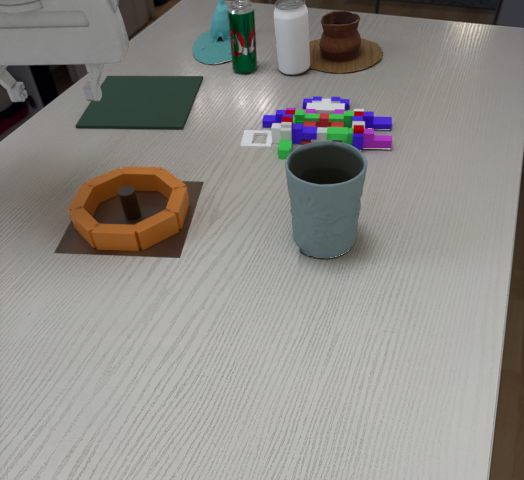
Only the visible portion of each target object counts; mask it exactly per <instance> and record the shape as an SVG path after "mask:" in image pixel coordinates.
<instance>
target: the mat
mask: <svg viewBox="0 0 524 480" xmlns="http://www.w3.org/2000/svg"><path fill="white" fill-rule="evenodd" d="M203 80H204V76H203V75H107V76H106V77H105V79H104V80H103V81H102V83H101V84H100V88H101V91H102V97H101V99H100V101H89V104H88V105H87V107H86V108H85V110H84V111H83V113H82V114H81V115H80V117H79V119H78V121H77V122H76V123H75V125H74V127H75V128H76V129H116V130H117V129H118V130H120V129H123V130H124V129H125V130H132V129H133V130H184V128H185V125H186V122H187V120H188V118H189V115H190V113H191V111H192V107H193V106H194V102H195V100H196V98H197V95H198V93H199V90H200V87H201V85H202V83H203Z"/></svg>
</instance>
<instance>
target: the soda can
mask: <svg viewBox="0 0 524 480" xmlns="http://www.w3.org/2000/svg"><path fill="white" fill-rule="evenodd" d="M228 7H229V8H228V21H229V33H230V44H231V56H232V61H231V65H232V70H233V71H234V72H235V73H236V74H240V75H246V74H247V75H248V74H251V73H253V72H255V71H256V69H257V68H258V53H257V36H256V17H255V7H254V6H253V2H252V1H251V0H232V1H229V3H228Z"/></svg>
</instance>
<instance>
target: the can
mask: <svg viewBox="0 0 524 480" xmlns="http://www.w3.org/2000/svg"><path fill="white" fill-rule="evenodd" d="M273 26H274V35H275V36H274V37H275V47H276V57H277V59H276V60H277V67H278V70H279V71H280V72H281V73H282V74H284V75H285V76H298V75H301V74H304V73H306V72H307V71H308V70H309V69H310V68H309V67H310V45H309V42H310V25H309V9H308V6H307V5H306V0H276V1H275V3H274V10H273Z"/></svg>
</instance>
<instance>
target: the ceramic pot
mask: <svg viewBox="0 0 524 480" xmlns="http://www.w3.org/2000/svg"><path fill="white" fill-rule="evenodd" d="M360 21H361V17H360V15H359V14H358V13H356V12H355V13H354V12H351V11H346V10H333V11H330V12H328V13H326V14H324V15H322V16H321V19H320V24H321V28H322V33H321V37H320V38H318V39H313V40H310V41H309V45H310V67H309V68H308V69H311V70H317V71H320V72H326V73H335V74H338V75H340V74H343V73H344V74H347V73H350V72H351V73H353V72H358V71H363V70H366V69H368V68H369V67H374V65H375V64H376V63H378V62H380V61H381V59H382V58H383V54H384V51H383V49H382V47H381V46H380V45H379V44H378V42H375V41H372V40H368V39H366V38H361V34H360V32H359V30H358V29H359V25H360Z"/></svg>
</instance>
